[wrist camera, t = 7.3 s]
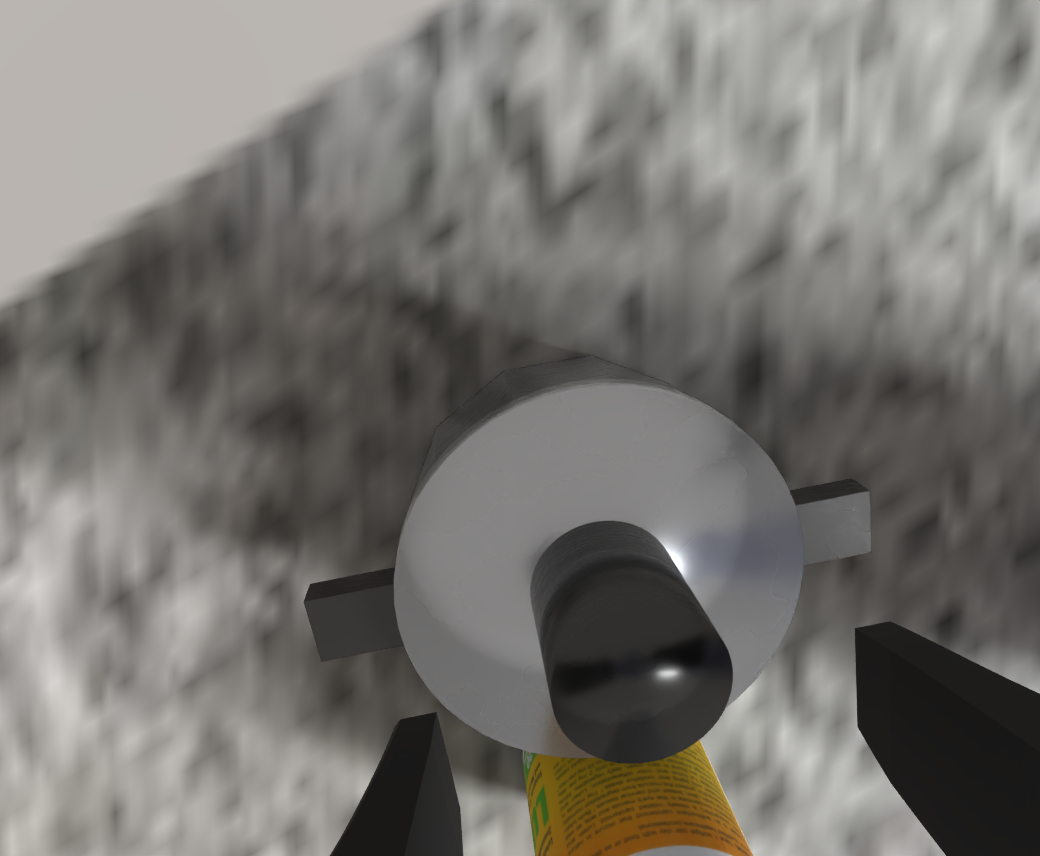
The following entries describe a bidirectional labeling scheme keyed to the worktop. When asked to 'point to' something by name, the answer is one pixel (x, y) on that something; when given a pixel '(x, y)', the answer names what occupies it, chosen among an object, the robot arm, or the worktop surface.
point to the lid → (598, 571)
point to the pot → (370, 596)
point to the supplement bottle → (630, 807)
